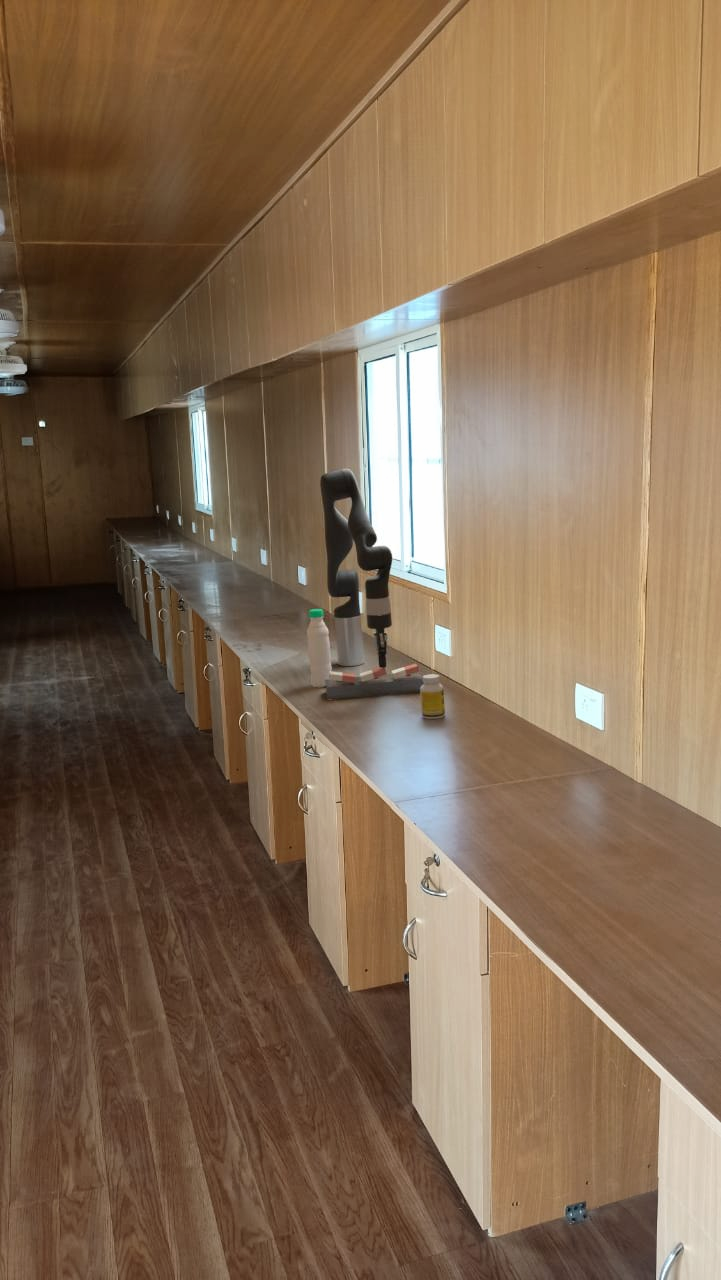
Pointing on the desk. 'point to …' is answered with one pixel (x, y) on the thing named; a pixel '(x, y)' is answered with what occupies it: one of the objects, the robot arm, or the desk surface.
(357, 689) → the power strip
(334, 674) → the rocker
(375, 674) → the block
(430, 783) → the desk surface
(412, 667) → the rocker
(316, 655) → the water bottle
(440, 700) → the pill bottle
